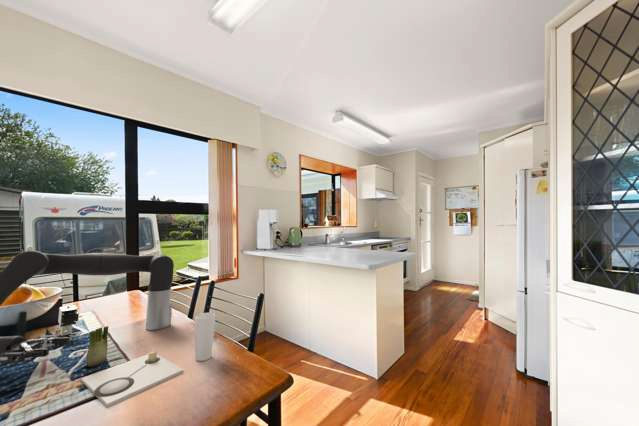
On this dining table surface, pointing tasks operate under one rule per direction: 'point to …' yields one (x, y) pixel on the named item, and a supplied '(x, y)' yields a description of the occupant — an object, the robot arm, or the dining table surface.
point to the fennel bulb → (97, 347)
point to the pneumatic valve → (67, 318)
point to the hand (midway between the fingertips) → (58, 346)
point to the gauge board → (130, 378)
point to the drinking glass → (204, 335)
